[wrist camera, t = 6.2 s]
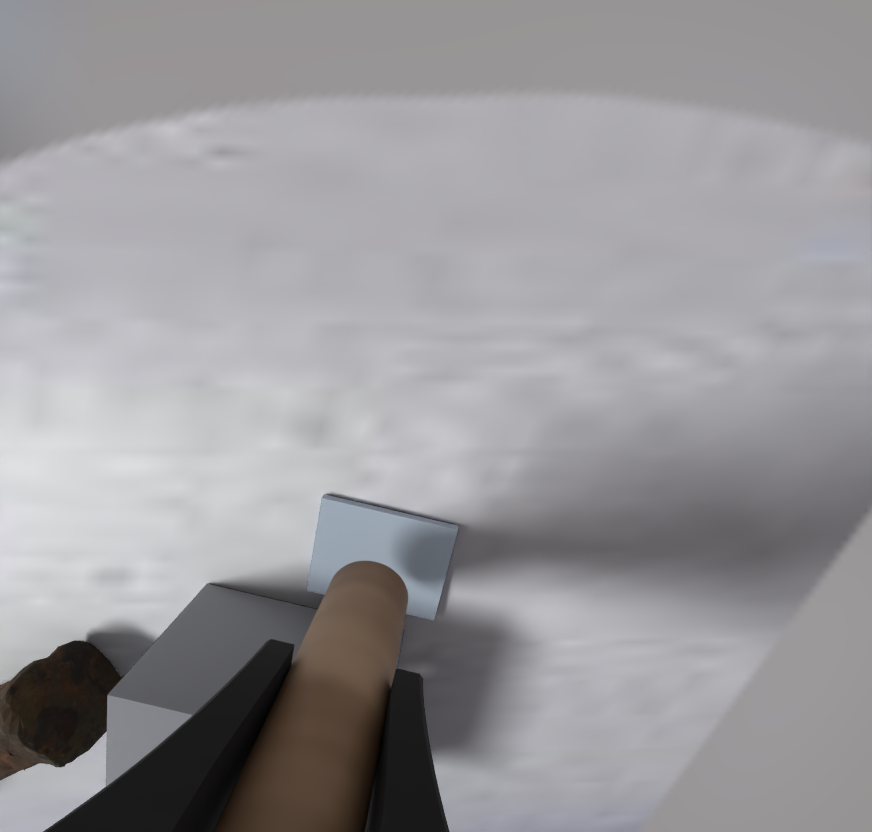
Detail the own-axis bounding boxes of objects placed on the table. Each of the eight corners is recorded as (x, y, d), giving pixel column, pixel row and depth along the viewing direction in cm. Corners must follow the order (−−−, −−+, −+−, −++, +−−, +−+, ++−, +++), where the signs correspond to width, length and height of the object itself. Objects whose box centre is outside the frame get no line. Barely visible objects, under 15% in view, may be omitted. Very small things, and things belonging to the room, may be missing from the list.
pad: (434, 614, 17) (433, 620, 17) (309, 585, 17) (306, 590, 17) (458, 525, 16) (458, 529, 16) (324, 494, 16) (321, 497, 16)
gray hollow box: (375, 759, 19) (346, 914, 14) (195, 716, 19) (104, 857, 14) (408, 630, 17) (385, 760, 12) (207, 583, 17) (107, 694, 12)
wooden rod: (399, 636, 15) (303, 1138, 6) (323, 618, 15) (114, 1093, 6) (415, 571, 14) (332, 1031, 5) (335, 552, 14) (118, 980, 5)
